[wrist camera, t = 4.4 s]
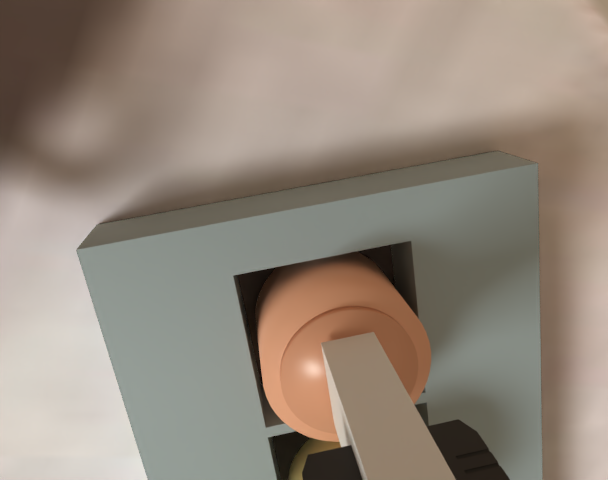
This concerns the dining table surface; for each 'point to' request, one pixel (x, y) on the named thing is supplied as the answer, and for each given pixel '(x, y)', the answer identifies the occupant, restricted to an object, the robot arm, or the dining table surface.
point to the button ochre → (308, 448)
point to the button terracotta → (330, 334)
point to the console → (309, 246)
